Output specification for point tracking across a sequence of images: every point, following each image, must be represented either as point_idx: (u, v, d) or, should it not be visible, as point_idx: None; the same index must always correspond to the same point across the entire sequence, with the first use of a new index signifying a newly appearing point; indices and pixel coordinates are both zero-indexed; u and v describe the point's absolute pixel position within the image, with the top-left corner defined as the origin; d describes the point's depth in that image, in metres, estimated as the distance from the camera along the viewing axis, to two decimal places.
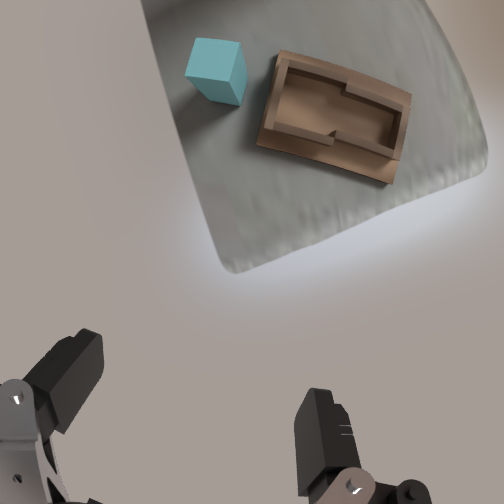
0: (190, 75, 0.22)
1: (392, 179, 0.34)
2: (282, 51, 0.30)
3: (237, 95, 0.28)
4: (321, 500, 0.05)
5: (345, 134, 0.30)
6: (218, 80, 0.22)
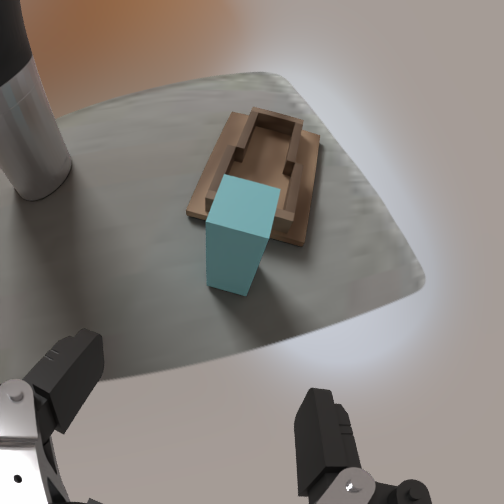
0: (269, 231, 0.18)
1: (315, 134, 0.39)
2: (188, 207, 0.31)
3: None
4: (321, 500, 0.05)
5: (290, 154, 0.33)
6: None
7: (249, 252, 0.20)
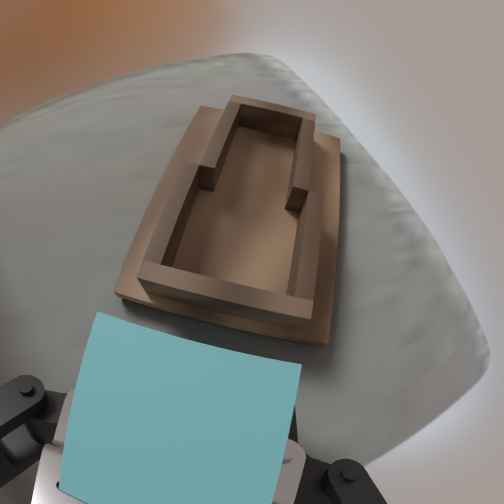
0: None
1: (333, 137, 0.25)
2: (118, 286, 0.16)
3: None
4: None
5: (298, 174, 0.18)
6: None
7: None
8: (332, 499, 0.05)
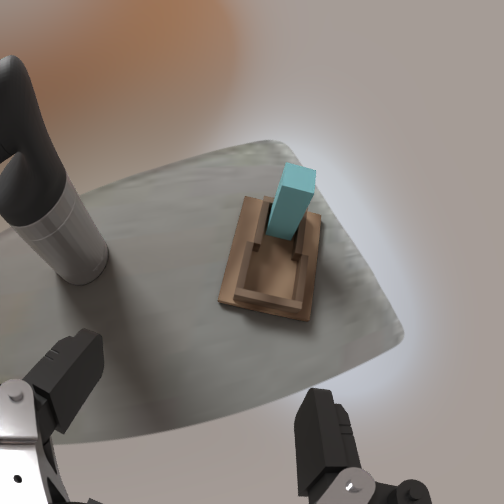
0: (313, 190, 0.35)
1: (317, 215, 0.48)
2: (219, 297, 0.40)
3: None
4: (321, 500, 0.05)
5: (297, 246, 0.42)
6: None
7: (301, 204, 0.37)
8: None
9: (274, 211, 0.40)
